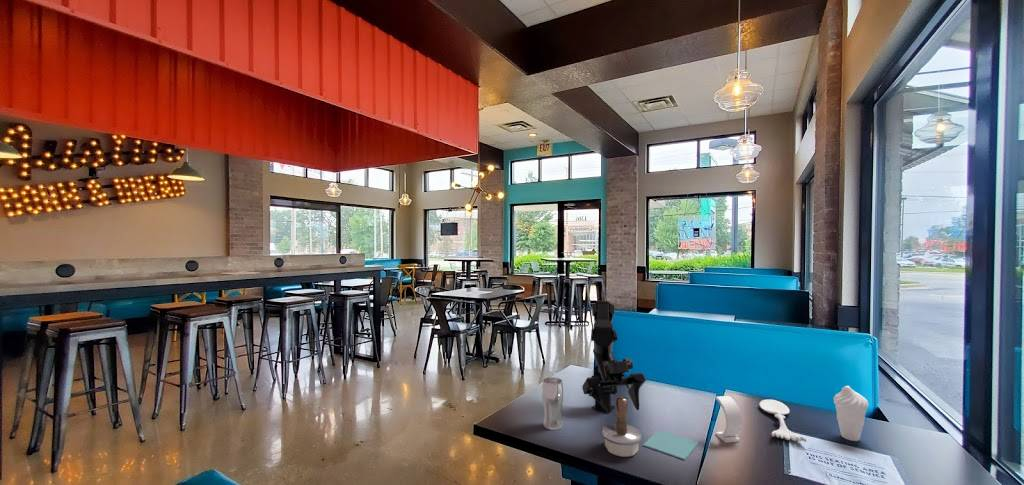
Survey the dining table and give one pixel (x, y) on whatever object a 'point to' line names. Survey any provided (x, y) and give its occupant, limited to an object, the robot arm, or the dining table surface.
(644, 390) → the dining table surface
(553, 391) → the beer glass
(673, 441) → the teal rubber mat
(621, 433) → the lid with wooden handle
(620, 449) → the cream ceramic bowl
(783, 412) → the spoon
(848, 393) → the soft serve ice cream cone
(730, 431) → the headphone stand
